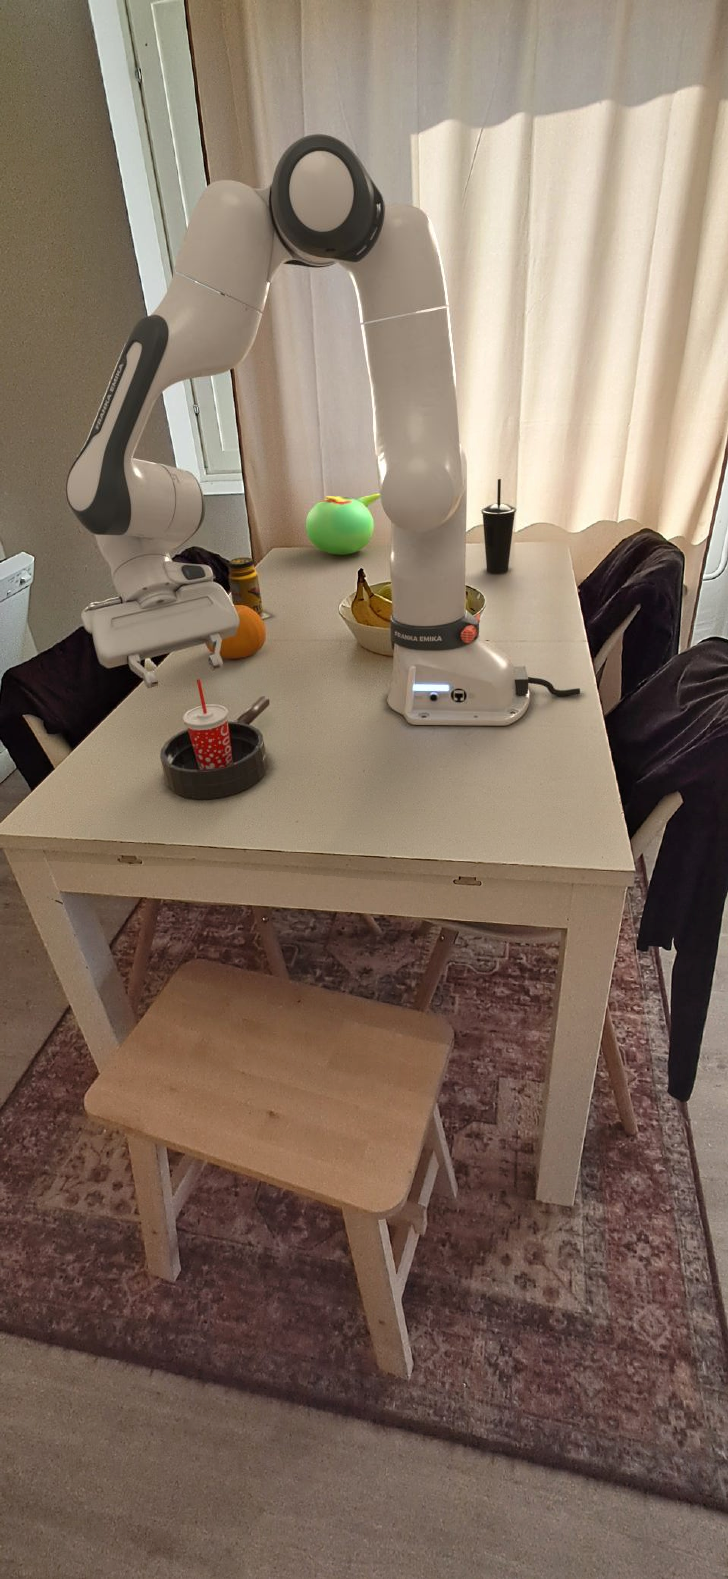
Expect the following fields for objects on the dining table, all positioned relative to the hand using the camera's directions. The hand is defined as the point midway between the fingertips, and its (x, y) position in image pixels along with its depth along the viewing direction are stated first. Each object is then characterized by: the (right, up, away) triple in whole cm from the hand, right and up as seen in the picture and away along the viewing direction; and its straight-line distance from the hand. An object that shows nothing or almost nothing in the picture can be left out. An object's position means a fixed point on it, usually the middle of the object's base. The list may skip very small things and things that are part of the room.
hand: (186, 676), depth 106 cm
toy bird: (+19, +46, +94) cm, 107 cm away
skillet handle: (+8, -5, +10) cm, 13 cm away
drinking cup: (+56, +35, +71) cm, 97 cm away
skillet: (+4, -13, +2) cm, 14 cm away
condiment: (-1, +21, +57) cm, 61 cm away
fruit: (+1, +10, +40) cm, 42 cm away
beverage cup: (+4, -13, +2) cm, 14 cm away
